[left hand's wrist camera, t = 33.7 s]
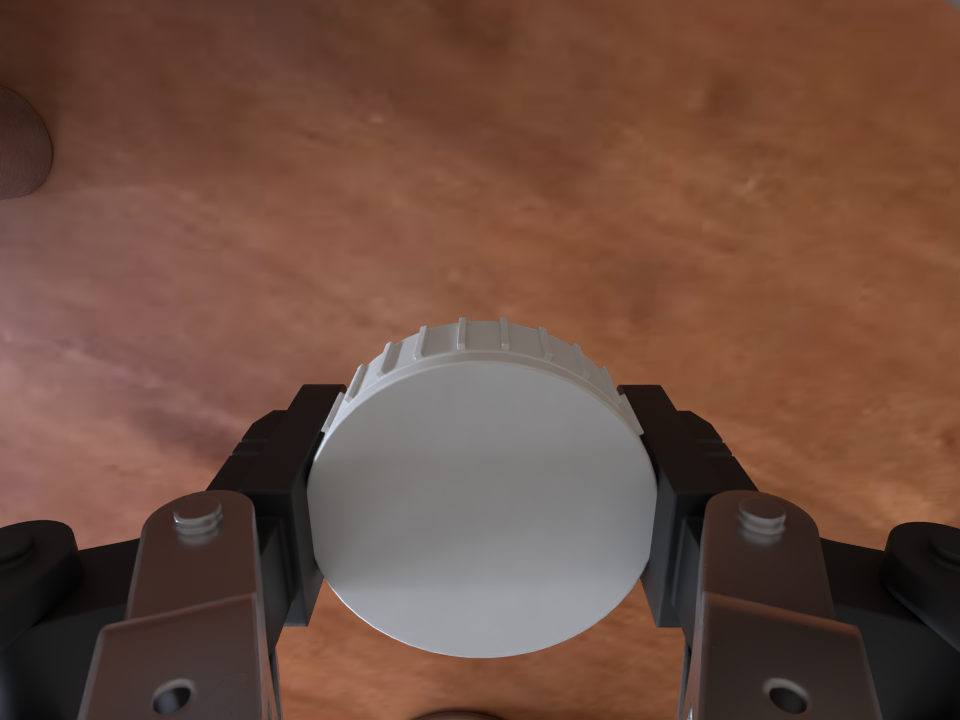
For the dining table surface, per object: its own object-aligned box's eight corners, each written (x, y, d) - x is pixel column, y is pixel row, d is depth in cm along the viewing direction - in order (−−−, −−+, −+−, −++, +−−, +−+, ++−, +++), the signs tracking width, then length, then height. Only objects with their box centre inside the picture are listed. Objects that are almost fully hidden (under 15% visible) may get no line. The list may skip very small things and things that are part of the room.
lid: (327, 580, 12) (304, 654, 10) (319, 303, 10) (289, 343, 8) (613, 594, 12) (634, 670, 10) (662, 324, 10) (697, 367, 8)
